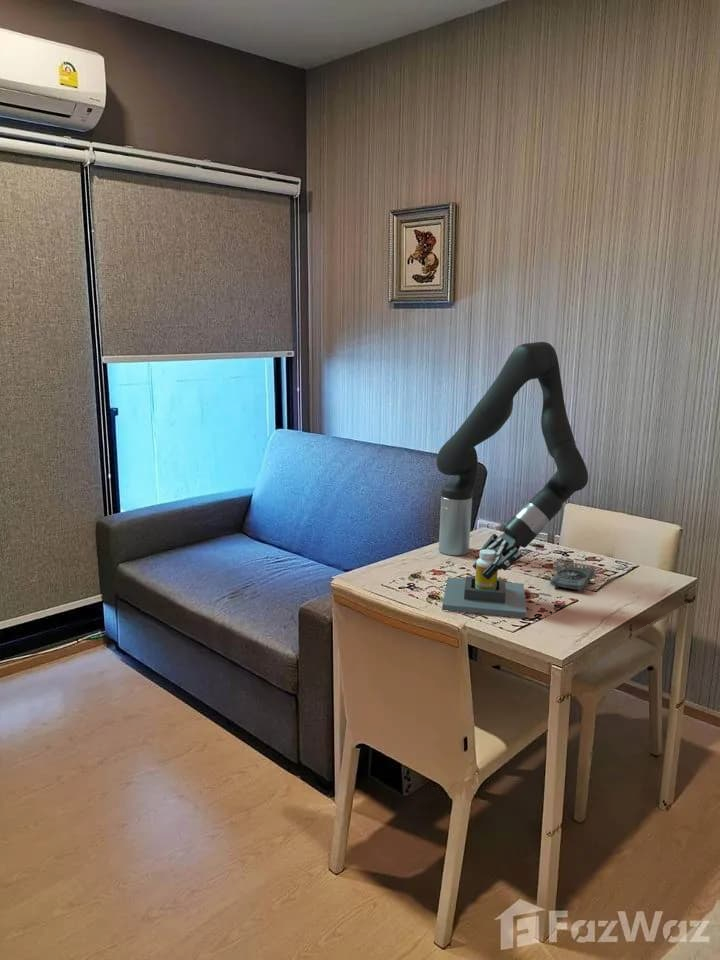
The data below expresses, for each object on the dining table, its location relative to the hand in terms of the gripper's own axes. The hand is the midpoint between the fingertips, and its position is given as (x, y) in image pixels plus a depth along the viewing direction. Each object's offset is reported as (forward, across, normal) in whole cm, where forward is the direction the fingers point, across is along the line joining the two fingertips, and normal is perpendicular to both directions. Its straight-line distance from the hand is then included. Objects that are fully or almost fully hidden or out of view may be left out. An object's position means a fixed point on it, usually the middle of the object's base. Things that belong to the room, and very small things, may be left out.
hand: (480, 572), depth 187 cm
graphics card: (-16, -8, +27) cm, 32 cm away
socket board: (+4, 0, +6) cm, 7 cm away
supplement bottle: (+2, 0, +4) cm, 5 cm away
